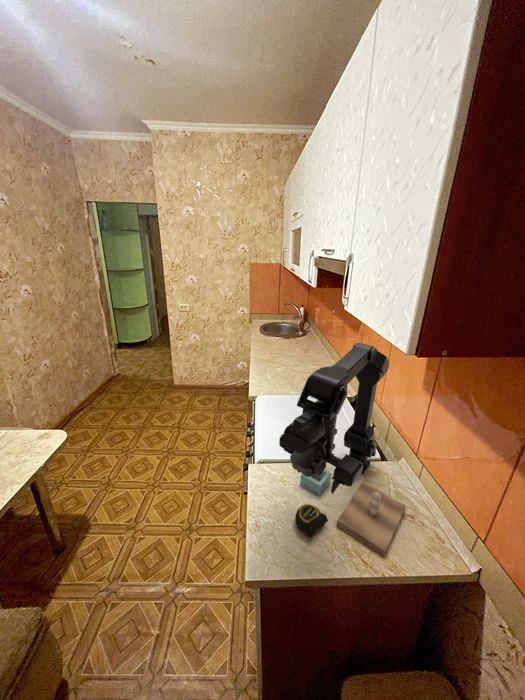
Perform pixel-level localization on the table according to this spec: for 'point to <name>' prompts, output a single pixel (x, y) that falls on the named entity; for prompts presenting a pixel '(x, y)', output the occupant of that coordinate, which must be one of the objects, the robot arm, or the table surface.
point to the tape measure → (310, 519)
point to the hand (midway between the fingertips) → (315, 481)
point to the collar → (316, 482)
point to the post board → (372, 518)
